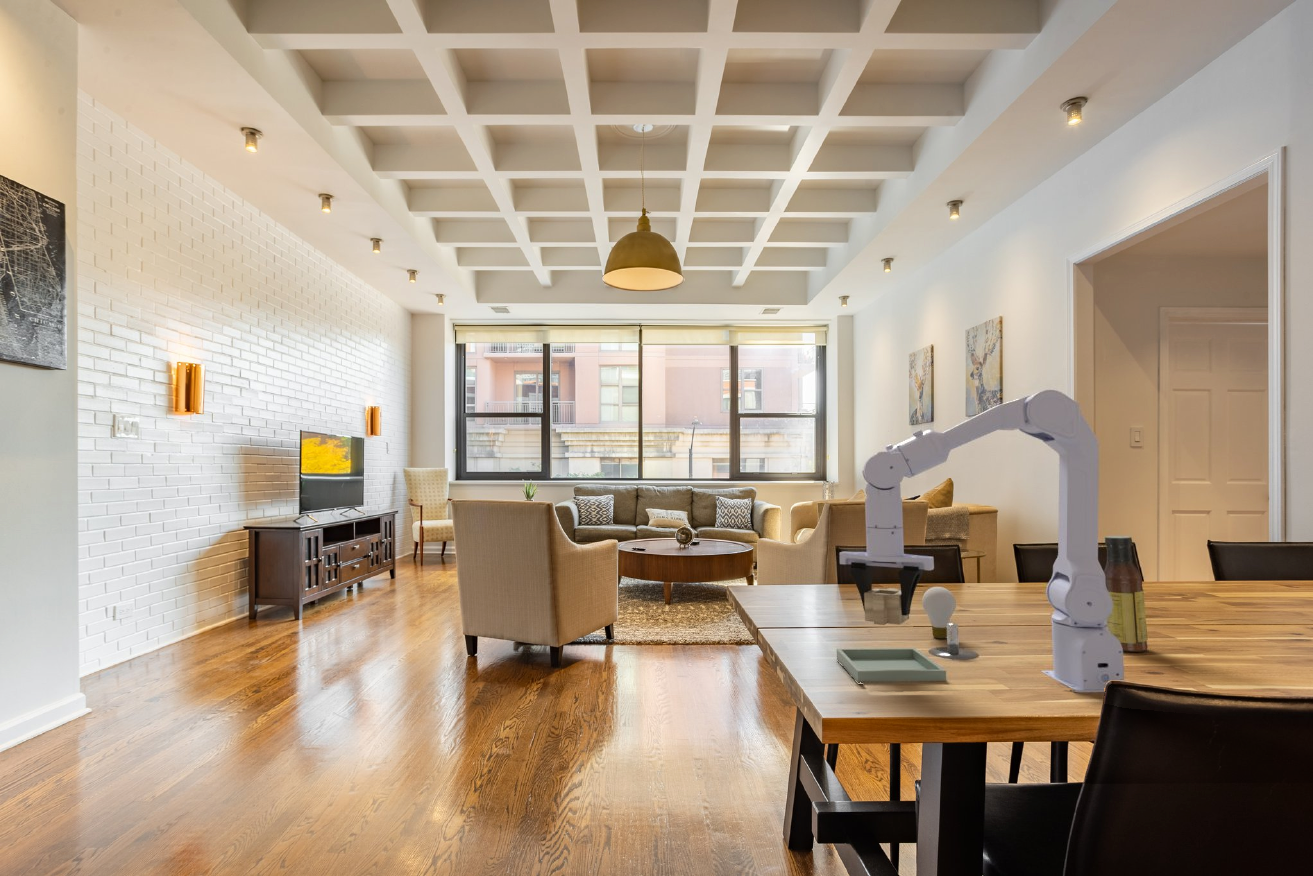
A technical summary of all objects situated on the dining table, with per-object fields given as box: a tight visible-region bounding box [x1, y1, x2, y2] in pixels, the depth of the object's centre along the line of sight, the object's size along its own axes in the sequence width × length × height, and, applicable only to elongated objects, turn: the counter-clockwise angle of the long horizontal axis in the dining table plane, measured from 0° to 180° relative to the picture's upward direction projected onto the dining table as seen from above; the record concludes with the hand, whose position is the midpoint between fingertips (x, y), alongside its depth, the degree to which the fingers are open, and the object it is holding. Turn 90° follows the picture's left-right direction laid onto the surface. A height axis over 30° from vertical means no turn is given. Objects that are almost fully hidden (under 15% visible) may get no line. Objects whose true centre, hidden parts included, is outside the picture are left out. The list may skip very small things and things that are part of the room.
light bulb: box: [921, 586, 957, 640], centre depth 130 cm, size 6×6×10 cm
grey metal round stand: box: [928, 622, 980, 661], centre depth 119 cm, size 8×8×6 cm
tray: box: [836, 647, 947, 683], centre depth 111 cm, size 13×13×2 cm
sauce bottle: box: [1103, 535, 1149, 653], centre depth 123 cm, size 7×6×20 cm
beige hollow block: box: [864, 587, 910, 626], centre depth 111 cm, size 8×5×4 cm, turn 144°
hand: (886, 612), depth 111 cm, fingers closed on beige hollow block, 5 cm apart
